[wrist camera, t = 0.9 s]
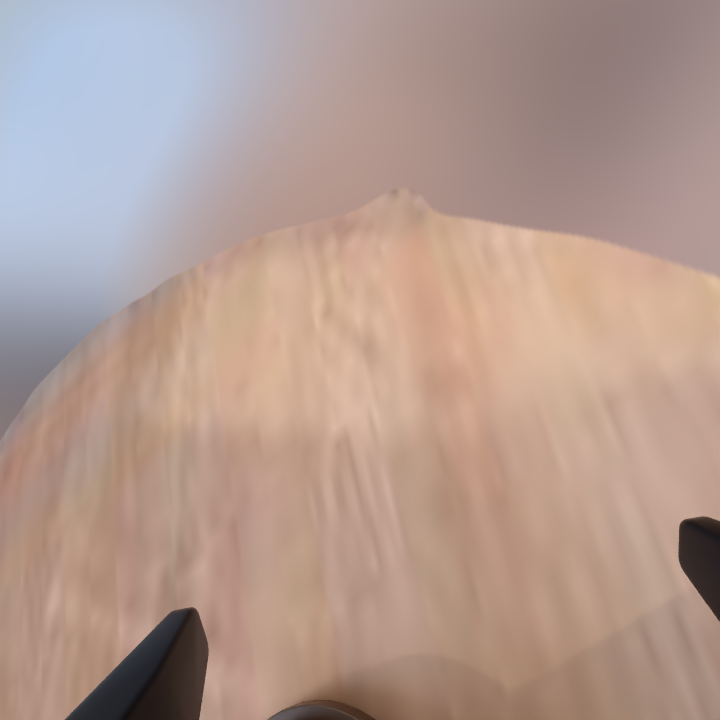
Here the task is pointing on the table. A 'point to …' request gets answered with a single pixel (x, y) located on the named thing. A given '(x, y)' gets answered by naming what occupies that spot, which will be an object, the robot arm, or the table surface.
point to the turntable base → (320, 712)
